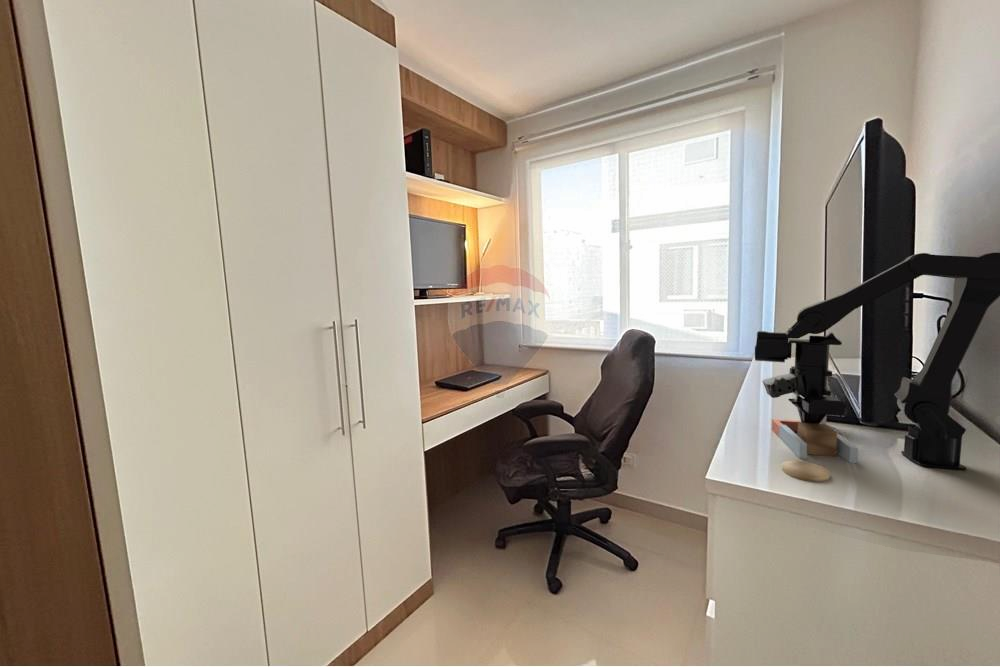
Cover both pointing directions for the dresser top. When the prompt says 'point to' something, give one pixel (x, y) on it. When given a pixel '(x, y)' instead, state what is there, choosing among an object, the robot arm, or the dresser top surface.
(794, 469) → the cork coaster
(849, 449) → the channel
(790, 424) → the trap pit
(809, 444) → the walnut block
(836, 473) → the dresser top surface
